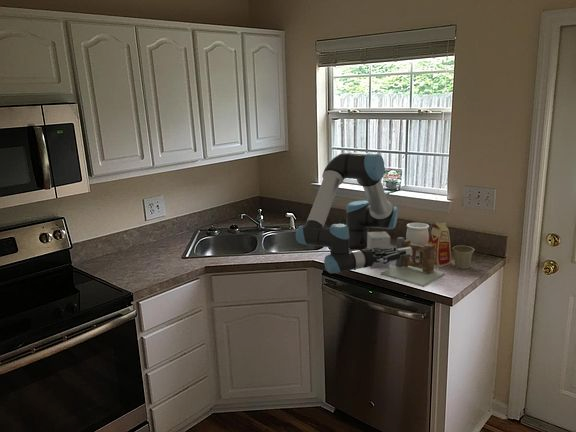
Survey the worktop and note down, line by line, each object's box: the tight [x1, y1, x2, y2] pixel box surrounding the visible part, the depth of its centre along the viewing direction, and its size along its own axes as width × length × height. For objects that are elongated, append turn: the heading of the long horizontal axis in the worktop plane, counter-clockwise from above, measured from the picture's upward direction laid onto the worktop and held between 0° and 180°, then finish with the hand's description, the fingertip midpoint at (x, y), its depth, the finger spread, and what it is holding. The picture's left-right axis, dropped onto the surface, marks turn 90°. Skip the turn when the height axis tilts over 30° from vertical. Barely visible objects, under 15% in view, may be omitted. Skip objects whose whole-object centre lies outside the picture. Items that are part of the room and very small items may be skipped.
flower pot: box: [451, 245, 475, 270], centre depth 217 cm, size 9×9×9 cm
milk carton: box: [428, 221, 452, 268], centre depth 221 cm, size 9×9×20 cm
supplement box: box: [366, 231, 391, 269], centre depth 221 cm, size 9×9×15 cm
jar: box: [405, 222, 430, 258], centre depth 234 cm, size 11×10×15 cm
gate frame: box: [380, 236, 446, 288], centre depth 209 cm, size 21×18×14 cm
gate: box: [403, 239, 435, 273], centre depth 212 cm, size 14×5×12 cm, turn 47°
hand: (410, 250), depth 203 cm, fingers closed
